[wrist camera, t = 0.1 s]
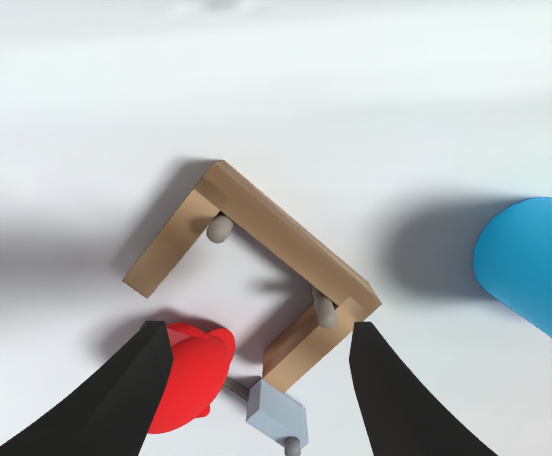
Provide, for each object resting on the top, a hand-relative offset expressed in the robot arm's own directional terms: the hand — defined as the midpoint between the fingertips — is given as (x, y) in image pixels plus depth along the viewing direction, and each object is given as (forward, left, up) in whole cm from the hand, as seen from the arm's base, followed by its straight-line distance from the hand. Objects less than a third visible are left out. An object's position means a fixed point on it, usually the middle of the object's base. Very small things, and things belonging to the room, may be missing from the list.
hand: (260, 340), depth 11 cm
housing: (-5, -4, -11) cm, 12 cm away
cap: (-11, -1, -10) cm, 15 cm away
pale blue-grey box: (-10, -10, -11) cm, 17 cm away
